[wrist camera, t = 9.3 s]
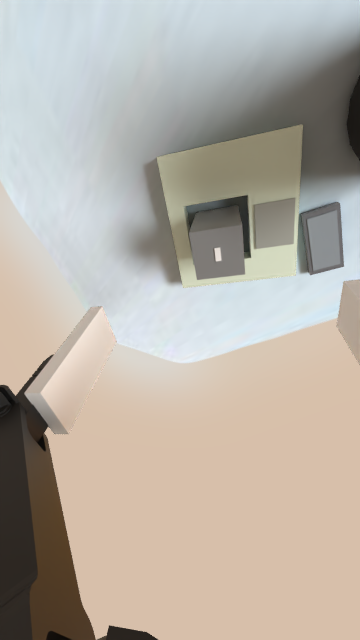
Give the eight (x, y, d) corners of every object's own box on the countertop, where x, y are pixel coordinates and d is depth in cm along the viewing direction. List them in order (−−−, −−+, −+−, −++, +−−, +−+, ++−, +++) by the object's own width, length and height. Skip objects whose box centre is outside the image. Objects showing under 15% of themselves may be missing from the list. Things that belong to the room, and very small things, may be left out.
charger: (196, 212, 30) (188, 233, 23) (237, 205, 29) (242, 224, 22) (202, 251, 32) (196, 280, 25) (240, 245, 31) (245, 274, 24)
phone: (300, 213, 28) (302, 215, 27) (337, 201, 27) (340, 203, 26) (308, 272, 32) (310, 275, 31) (341, 263, 31) (344, 266, 30)
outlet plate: (160, 156, 27) (155, 157, 25) (297, 125, 24) (303, 124, 22) (185, 280, 34) (182, 288, 33) (291, 268, 32) (296, 276, 30)
